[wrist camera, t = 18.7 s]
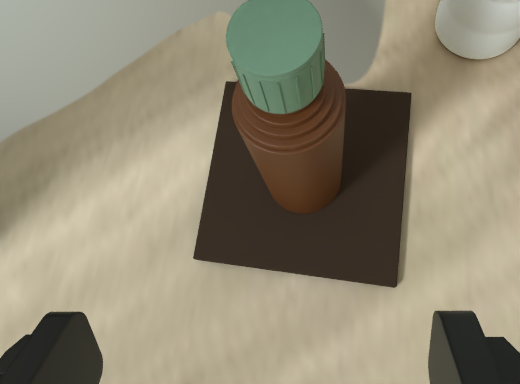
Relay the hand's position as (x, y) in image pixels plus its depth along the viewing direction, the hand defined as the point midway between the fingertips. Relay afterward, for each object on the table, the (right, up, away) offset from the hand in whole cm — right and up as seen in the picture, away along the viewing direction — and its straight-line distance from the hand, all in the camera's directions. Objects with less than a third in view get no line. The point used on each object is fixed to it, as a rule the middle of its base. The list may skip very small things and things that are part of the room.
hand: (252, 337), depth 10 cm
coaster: (+4, +5, +27) cm, 28 cm away
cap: (+1, +9, +11) cm, 14 cm away
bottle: (+4, +4, +26) cm, 27 cm away
